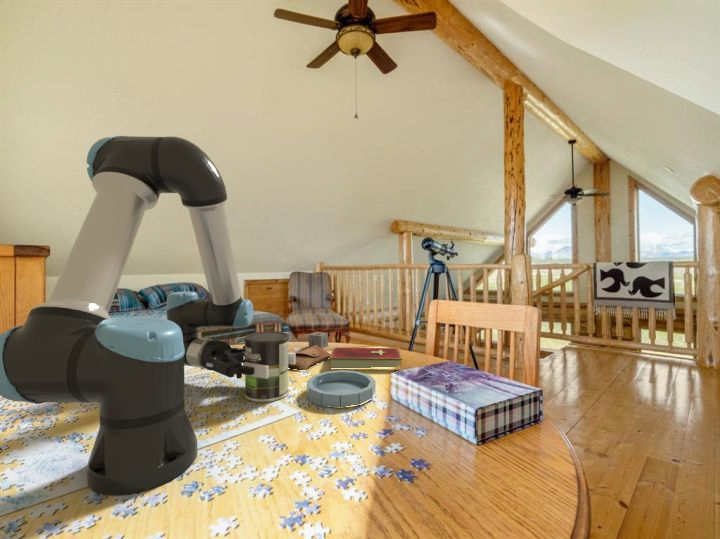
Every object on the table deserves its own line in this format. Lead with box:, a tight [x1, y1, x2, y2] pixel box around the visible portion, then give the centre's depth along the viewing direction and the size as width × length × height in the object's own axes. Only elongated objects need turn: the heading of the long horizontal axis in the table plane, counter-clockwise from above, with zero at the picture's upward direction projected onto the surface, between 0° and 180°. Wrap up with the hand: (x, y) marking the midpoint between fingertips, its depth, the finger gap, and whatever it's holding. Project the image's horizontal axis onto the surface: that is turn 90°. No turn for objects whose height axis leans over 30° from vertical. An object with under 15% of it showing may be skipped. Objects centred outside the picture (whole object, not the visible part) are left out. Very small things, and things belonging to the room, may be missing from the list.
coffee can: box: [243, 330, 290, 403], centre depth 87 cm, size 10×10×14 cm
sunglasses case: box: [288, 344, 331, 371], centre depth 112 cm, size 18×7×7 cm, turn 154°
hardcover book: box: [328, 346, 403, 369], centre depth 110 cm, size 12×21×4 cm, turn 88°
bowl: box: [306, 370, 376, 407], centre depth 87 cm, size 16×16×3 cm
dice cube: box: [308, 331, 329, 349], centre depth 129 cm, size 5×5×5 cm
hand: (282, 365), depth 85 cm, fingers closed on coffee can, 10 cm apart
